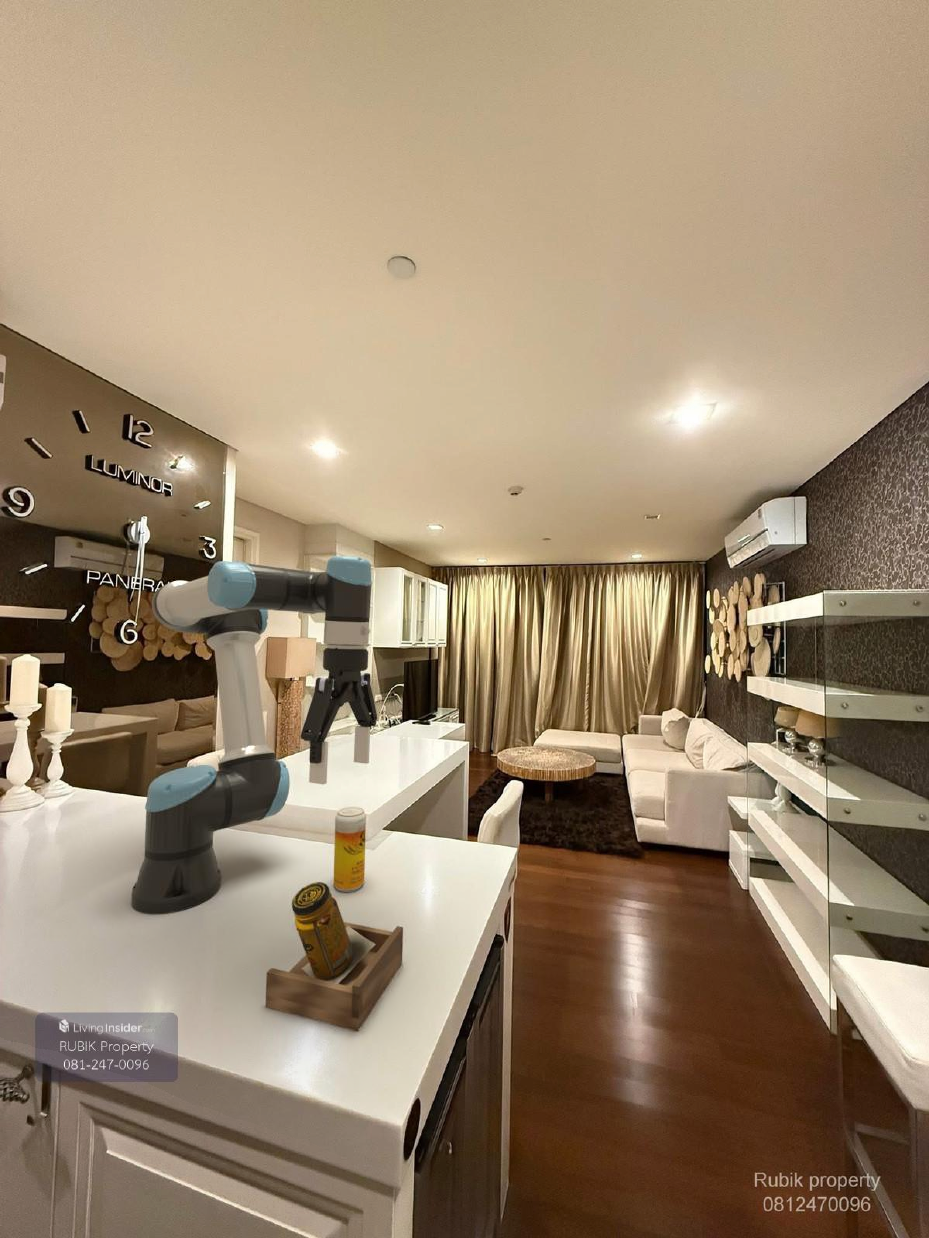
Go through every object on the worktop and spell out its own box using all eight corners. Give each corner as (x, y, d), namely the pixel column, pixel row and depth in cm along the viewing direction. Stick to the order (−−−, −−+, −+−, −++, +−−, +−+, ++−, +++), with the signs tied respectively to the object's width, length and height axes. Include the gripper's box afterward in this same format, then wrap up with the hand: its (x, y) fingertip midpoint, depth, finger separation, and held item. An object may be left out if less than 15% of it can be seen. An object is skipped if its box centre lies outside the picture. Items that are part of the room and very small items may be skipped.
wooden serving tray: (265, 1006, 67) (266, 964, 68) (322, 946, 81) (323, 911, 81) (358, 1031, 63) (359, 986, 64) (402, 963, 77) (403, 927, 77)
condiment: (301, 969, 73) (276, 902, 70) (348, 926, 79) (326, 862, 76) (329, 994, 68) (303, 922, 65) (376, 946, 74) (354, 878, 71)
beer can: (356, 895, 97) (358, 817, 98) (327, 891, 98) (330, 814, 99) (368, 880, 103) (370, 807, 104) (341, 877, 104) (343, 804, 105)
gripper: (323, 649, 72) (317, 796, 72) (397, 647, 96) (393, 757, 95) (280, 647, 75) (273, 790, 74) (363, 645, 98) (358, 753, 98)
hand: (341, 772), depth 85 cm, fingers open, 13 cm apart
